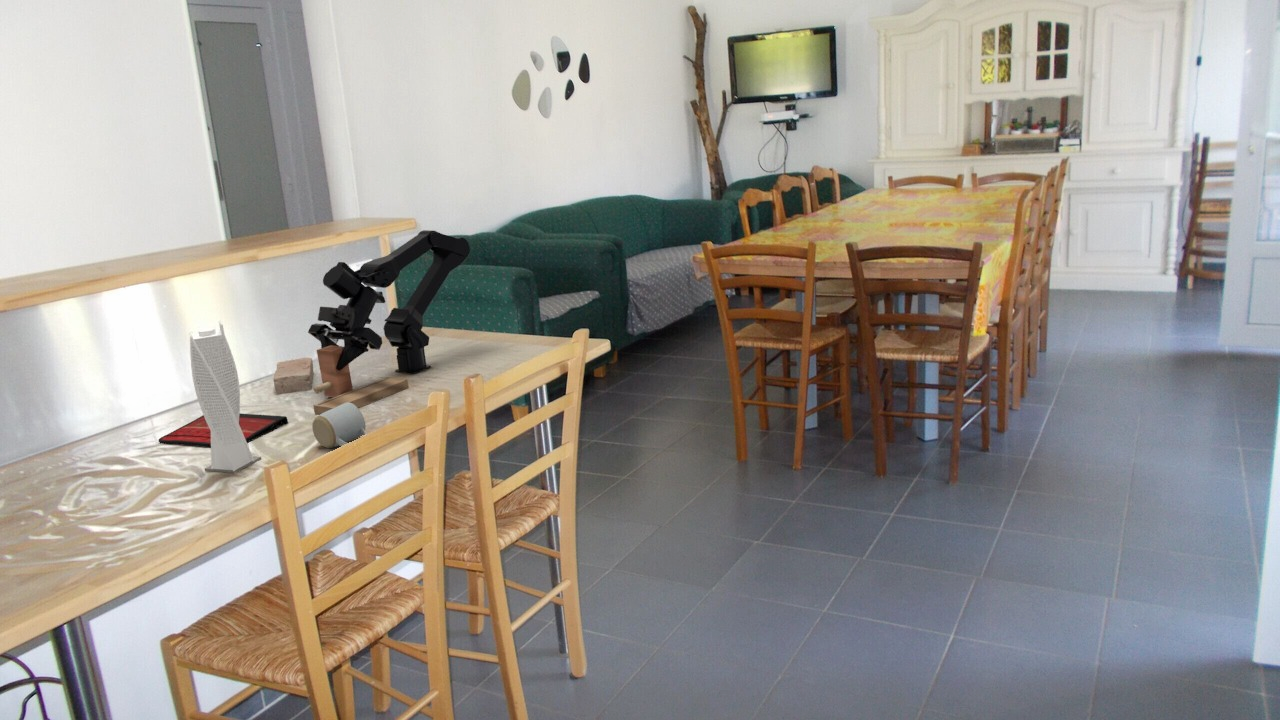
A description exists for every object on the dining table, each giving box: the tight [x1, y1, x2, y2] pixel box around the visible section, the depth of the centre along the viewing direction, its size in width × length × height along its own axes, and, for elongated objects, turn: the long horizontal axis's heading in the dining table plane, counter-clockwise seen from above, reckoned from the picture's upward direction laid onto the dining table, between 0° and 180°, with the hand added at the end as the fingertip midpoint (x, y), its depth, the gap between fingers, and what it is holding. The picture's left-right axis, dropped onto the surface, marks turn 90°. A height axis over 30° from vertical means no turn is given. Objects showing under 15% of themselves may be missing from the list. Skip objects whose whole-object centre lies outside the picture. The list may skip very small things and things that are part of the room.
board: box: [313, 376, 409, 416], centre depth 211 cm, size 22×6×2 cm, turn 149°
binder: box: [158, 413, 289, 447], centre depth 195 cm, size 16×2×21 cm
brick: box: [272, 357, 314, 395], centre depth 229 cm, size 17×8×5 cm, turn 16°
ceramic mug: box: [312, 402, 367, 449], centre depth 182 cm, size 10×8×7 cm
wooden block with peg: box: [313, 345, 354, 398], centre depth 212 cm, size 8×5×11 cm, turn 149°
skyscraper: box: [188, 319, 262, 474], centre depth 172 cm, size 8×8×28 cm
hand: (329, 368), depth 212 cm, fingers closed on wooden block with peg, 5 cm apart
